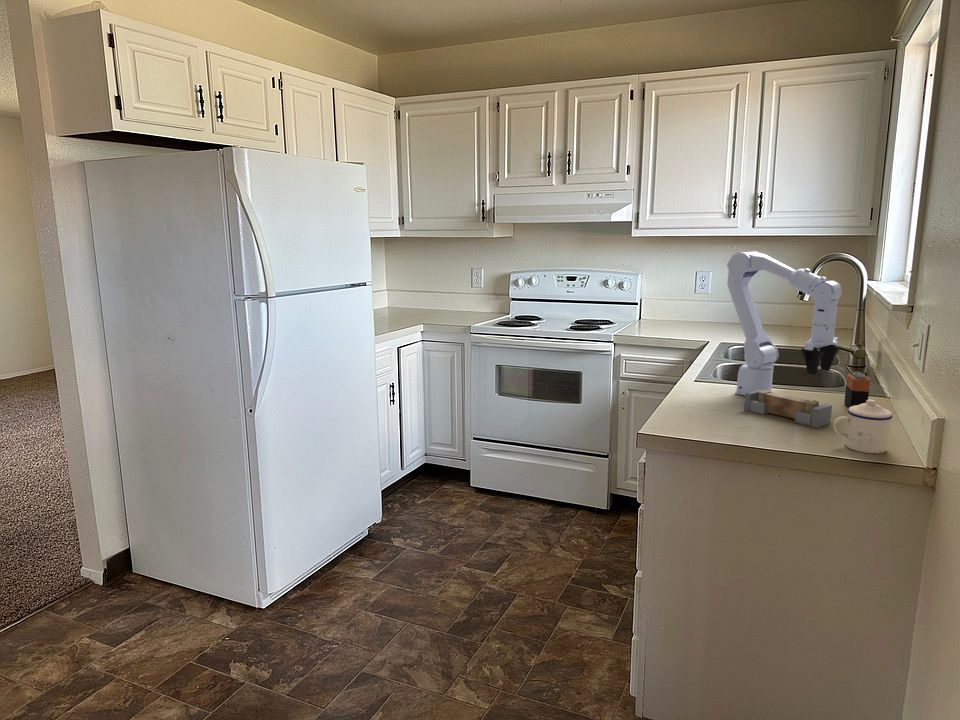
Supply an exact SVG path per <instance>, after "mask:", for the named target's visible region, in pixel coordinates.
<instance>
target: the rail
mask: <svg viewBox="0 0 960 720" xmlns="http://www.w3.org/2000/svg"><path fill="white" fill-rule="evenodd" d="M758 402H762V403H766V412H768V413H767V414H774V415H777V416H781V417H786V418H789V419H790V418H791V419H794V420H795V416H796V412H797V411H800V412H804V413H809V414H812V408H814V407H817V406H820V401H816V400H810V399H803V398H799V397H795V396H790V395H787V394H782V393H777V392H772V390H771V391H767V390H765V391H761V392H759V400H758Z"/></svg>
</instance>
